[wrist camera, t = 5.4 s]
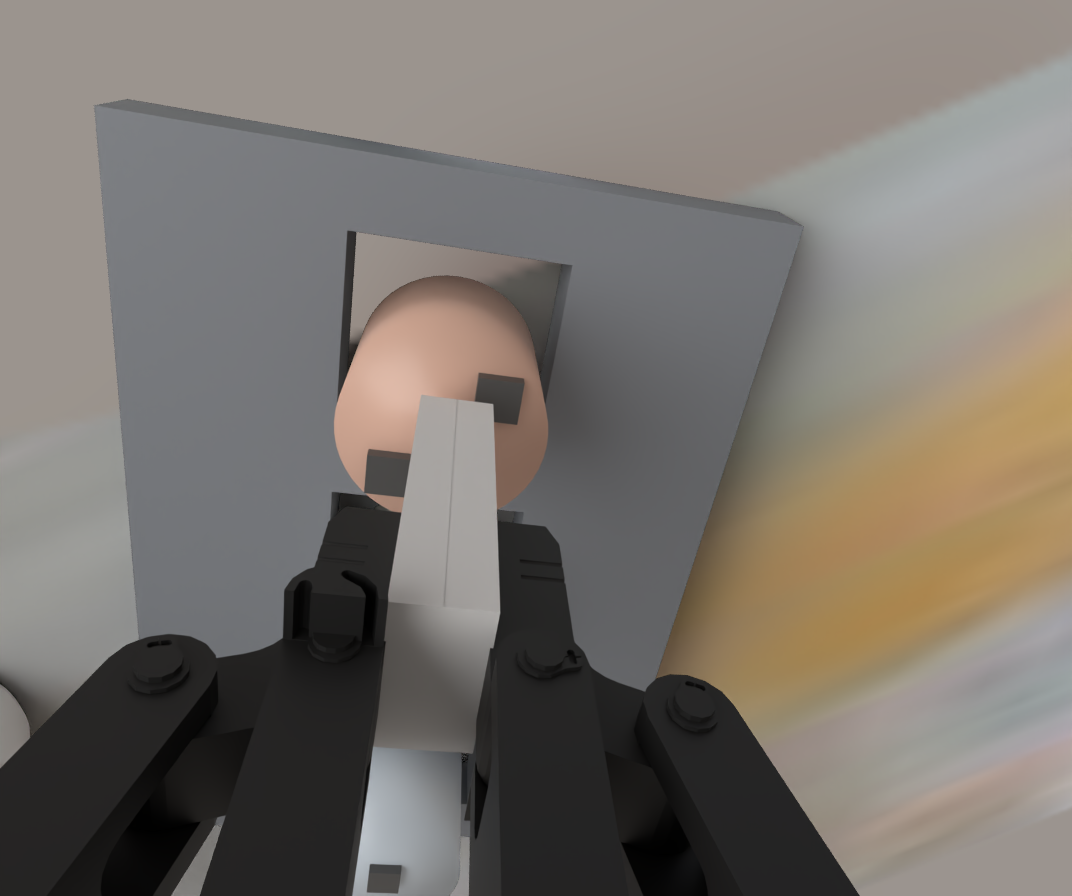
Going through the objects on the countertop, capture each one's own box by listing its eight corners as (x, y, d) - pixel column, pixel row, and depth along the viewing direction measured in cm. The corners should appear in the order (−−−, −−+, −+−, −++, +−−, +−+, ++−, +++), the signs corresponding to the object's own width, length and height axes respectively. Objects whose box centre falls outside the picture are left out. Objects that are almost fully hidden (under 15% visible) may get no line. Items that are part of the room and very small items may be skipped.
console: (172, 778, 32) (154, 822, 30) (128, 99, 20) (93, 105, 18) (595, 801, 34) (601, 842, 33) (778, 211, 23) (804, 226, 21)
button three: (354, 428, 22) (326, 518, 18) (366, 262, 20) (337, 322, 16) (519, 447, 23) (530, 539, 19) (549, 290, 20) (567, 354, 16)
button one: (327, 800, 29) (303, 926, 25) (334, 709, 27) (308, 831, 23) (453, 806, 30) (450, 930, 26) (469, 718, 28) (468, 838, 24)
